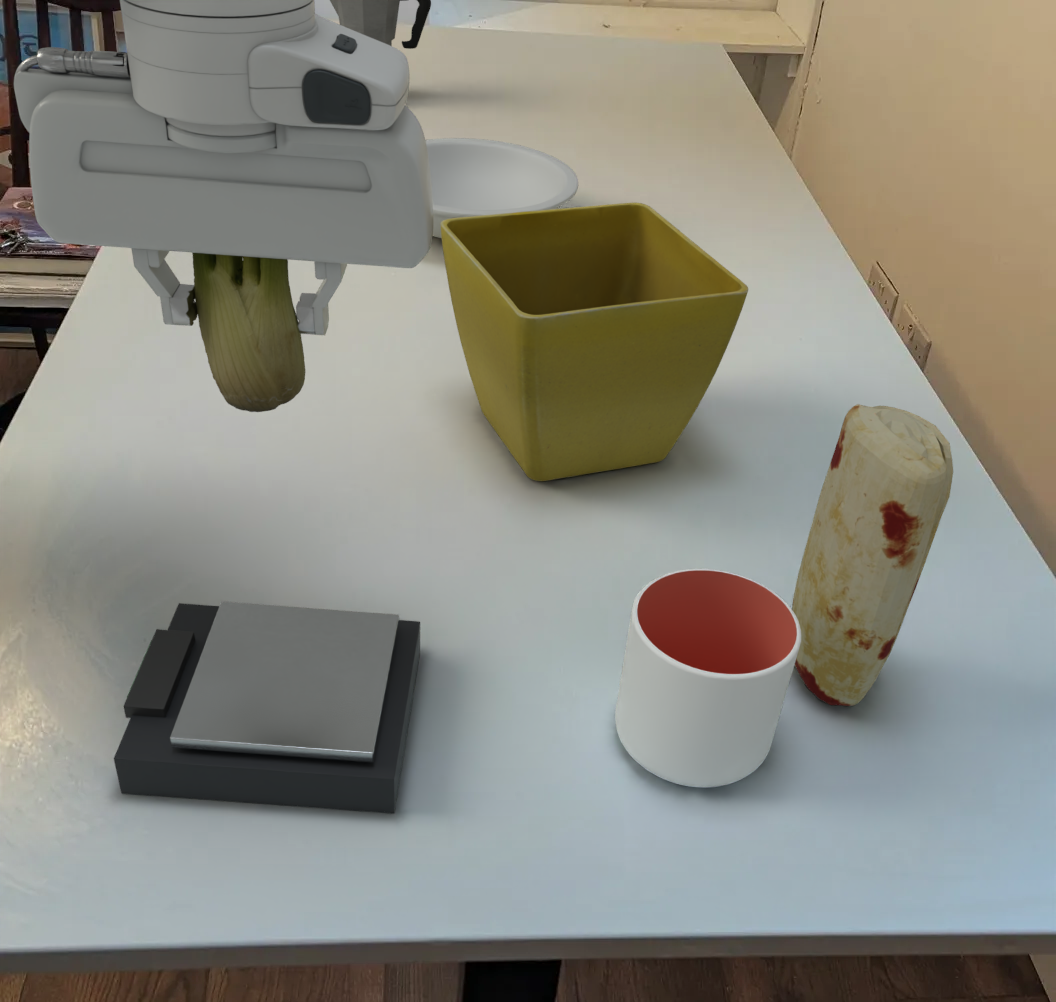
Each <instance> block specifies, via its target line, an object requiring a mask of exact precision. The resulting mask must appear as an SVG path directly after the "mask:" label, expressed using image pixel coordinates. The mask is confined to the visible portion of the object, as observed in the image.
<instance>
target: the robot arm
mask: <svg viewBox="0 0 1056 1002" xmlns="http://www.w3.org/2000/svg"><path fill="white" fill-rule="evenodd" d="M315 2H316V1H315V0H119V4H120V13H121V19H122V20H121V21H122V27H123V35H124V40H125V48H126V52H125V51H111V50H110V51H107V50H106V51H105V50H88V51H85V50H84V51H80V50H77V51H76V50H69V49H67V48H65V47H57V46H56V47H55V46H49V47H42V48H39V49H38V50H37V53H36V55H31V56H29V57H27V58H25V59H24V60H23V61H21V62H20V64H19V65H18V66H17V68H16V70H15V73H14V77H13V89H14V94H15V99H16V105H17V109H18V115H19V118H20V121H21V123H22V125H23V126H24V128H25V129H26V131H27V132H28V133H29V138H28V139H29V140H28V141H29V142H28V143H29V144H28V145H29V147H28V149H29V173H30V184H31V193H32V195H31V196H32V201H33V208H34V215H35V220H36V222H37V225H38V226H40V228H41V229H42V230H43V231H44V232H45V233H46V234H47V236H48V237H50V239H52V240H53V241H54V242H55V243H59V244H66V245H67V244H68V245H80V246H81V245H82V246H96V247H109V248H110V247H111V248H122V249H123V248H124V249H131V254H132V262H133V267H134V268H135V269H136V271H137V273H139V274H140V276H141V277H142V278H143V280H144V281H145V282H146V284H147V285H148V286H149V287H150V289H151V290H152V291H153V292H154V294H155V295H156V296H157V297H159V301H160V307H161V315H162V320H163V321H162V322H163V323H164V325H169V326H184V327H185V326H187V327H192V326H194V324H195V323H194V321H196V320H197V318H198V313H197V306H196V301H195V298H196V297H195V287H194V284H186V283H181V281H179V279H178V278H177V276H176V274H175V272H174V271H173V269H172V268H171V267H170V265H169V264H168V262H167V261H166V257H167V256H168V255H169V253H170V252H179V253H180V252H181V253H191V254H192V253H205V254H219V255H232V256H246V257H260V258H274V259H288V261H289V260H291V261H301V262H303V261H305V262H314V263H313V264H314V278H316V279H317V280H322V282H321V284H320V286H319V287H318V289H317V290H316V292H315V293H313V292H312V293H311V292H301V294H300V296H299V300H298V301H297V303H296V306H295V312H296V316H297V319H298V325H297V326H298V330H299V333H300V334H301V335H311V336H326V334H327V331H328V329H329V323H330V322H329V321H330V313H329V309H330V308H329V303H330V301H331V299H332V298H333V296H334V294H335V293H336V291H337V289H338V288H339V286H340V284H341V283H342V281H343V278H344V275H345V272H346V269H347V266H348V265H357V266H370V267H371V266H372V267H383V268H384V267H385V268H386V267H387V268H397V269H398V268H400V269H413V268H416V267H417V266H418V265H419V264H420V263H421V262H422V260H424V258H425V257H427V255H428V254H429V252H430V250H431V247H432V243H433V237H434V236H433V194H432V182H431V173H430V165H429V158H428V151H427V146H426V140H427V139H426V137H425V133H424V130H423V127H422V125H421V122H420V121H419V119H418V117H417V116H416V115H415V113H414V112H413V110H411V109H410V108H409V107H408V106H407V105H406V103H407V101H408V97H409V91H410V79H411V77H410V67H409V66H410V65H409V60H408V58H407V56H406V54H405V53H404V52H402V51H401V50H400V49H398V48H397V47H394V46H393V45H392V46H390V45H388V44H385V43H383V42H380V41H378V40H375V39H373V38H370V37H368V36H366V35H363V34H361V33H358V32H356V31H353V30H351V29H349V28H346V27H344V26H342V25H340V23H337V22H335V21H333V20H330V19H328V18H326V17H324V16H321V15H319V14H317V13H316V5H315ZM34 66H38V67H39V68H33V67H34Z"/></svg>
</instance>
